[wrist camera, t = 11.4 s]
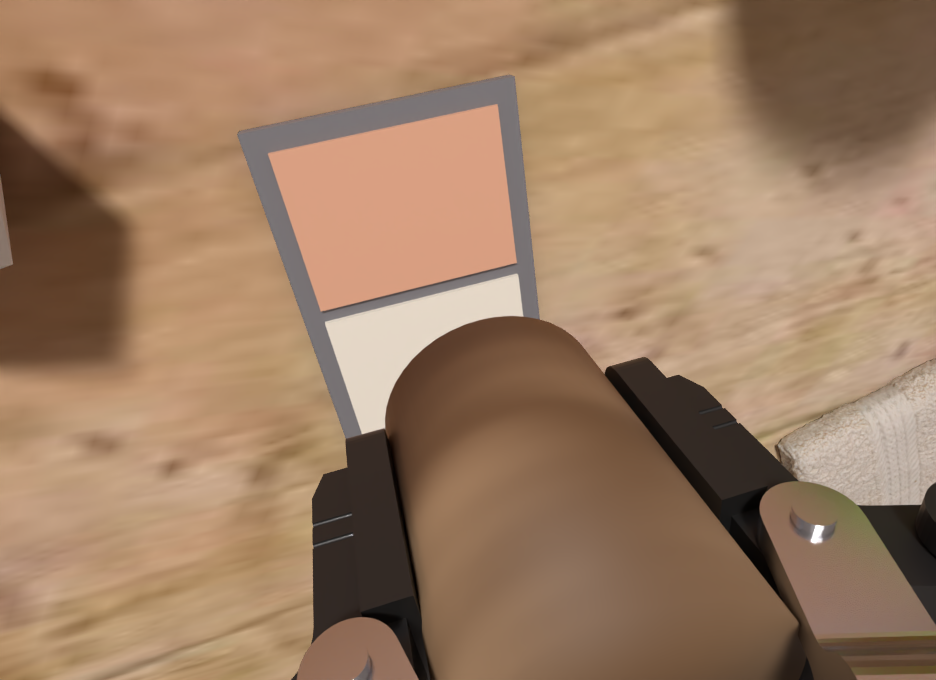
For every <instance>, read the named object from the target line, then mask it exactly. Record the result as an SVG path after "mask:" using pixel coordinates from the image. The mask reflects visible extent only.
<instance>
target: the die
mask: <svg viewBox="0 0 936 680" xmlns="http://www.w3.org/2000/svg"><path fill="white" fill-rule="evenodd" d="M10 265H13V260H12V253H11V246H10V239H9V232H8V225H7V218H6V211H5V204H4V197H3V190H2V183H1V176H0V269H2V268H5V267H7V266H10Z"/></svg>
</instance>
